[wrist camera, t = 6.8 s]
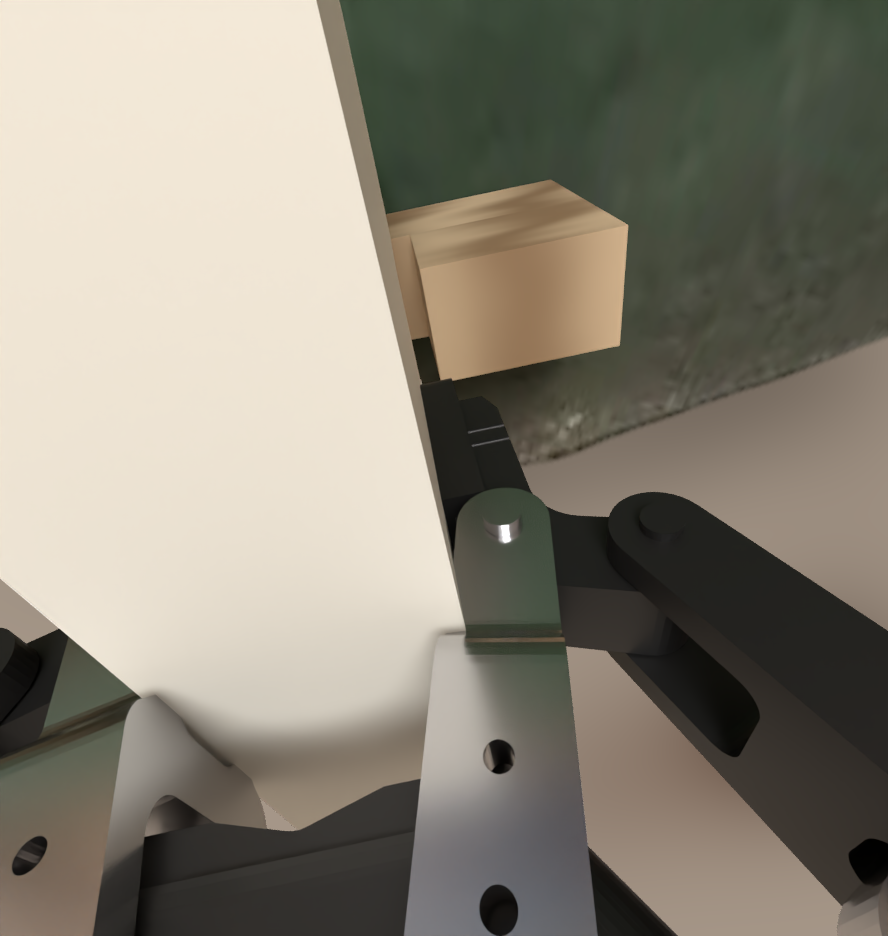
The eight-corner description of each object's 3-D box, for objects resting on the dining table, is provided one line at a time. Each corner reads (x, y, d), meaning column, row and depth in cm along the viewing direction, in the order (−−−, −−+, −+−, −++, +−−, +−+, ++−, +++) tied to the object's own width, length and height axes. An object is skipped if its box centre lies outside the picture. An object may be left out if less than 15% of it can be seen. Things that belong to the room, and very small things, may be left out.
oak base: (550, 179, 19) (628, 224, 13) (552, 273, 21) (619, 345, 15) (132, 267, 19) (38, 349, 13) (179, 352, 21) (115, 451, 15)
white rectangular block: (184, 40, 11) (-828, -125, 2) (340, 6, 11) (233, -348, 2) (356, 498, 20) (354, 878, 10) (442, 480, 20) (516, 844, 10)
